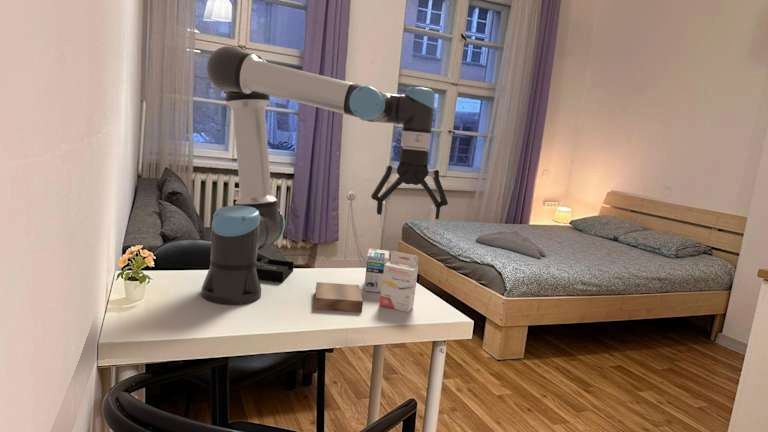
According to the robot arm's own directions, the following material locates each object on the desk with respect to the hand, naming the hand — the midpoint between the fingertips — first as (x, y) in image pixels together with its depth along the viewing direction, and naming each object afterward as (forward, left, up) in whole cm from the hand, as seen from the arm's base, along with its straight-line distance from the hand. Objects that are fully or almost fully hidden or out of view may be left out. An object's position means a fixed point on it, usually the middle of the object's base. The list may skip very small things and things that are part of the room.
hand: (406, 229), depth 140 cm
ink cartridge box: (0, 0, -22) cm, 22 cm away
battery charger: (-35, +21, -22) cm, 47 cm away
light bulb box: (-4, +17, -22) cm, 28 cm away
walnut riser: (-16, +1, -22) cm, 27 cm away
